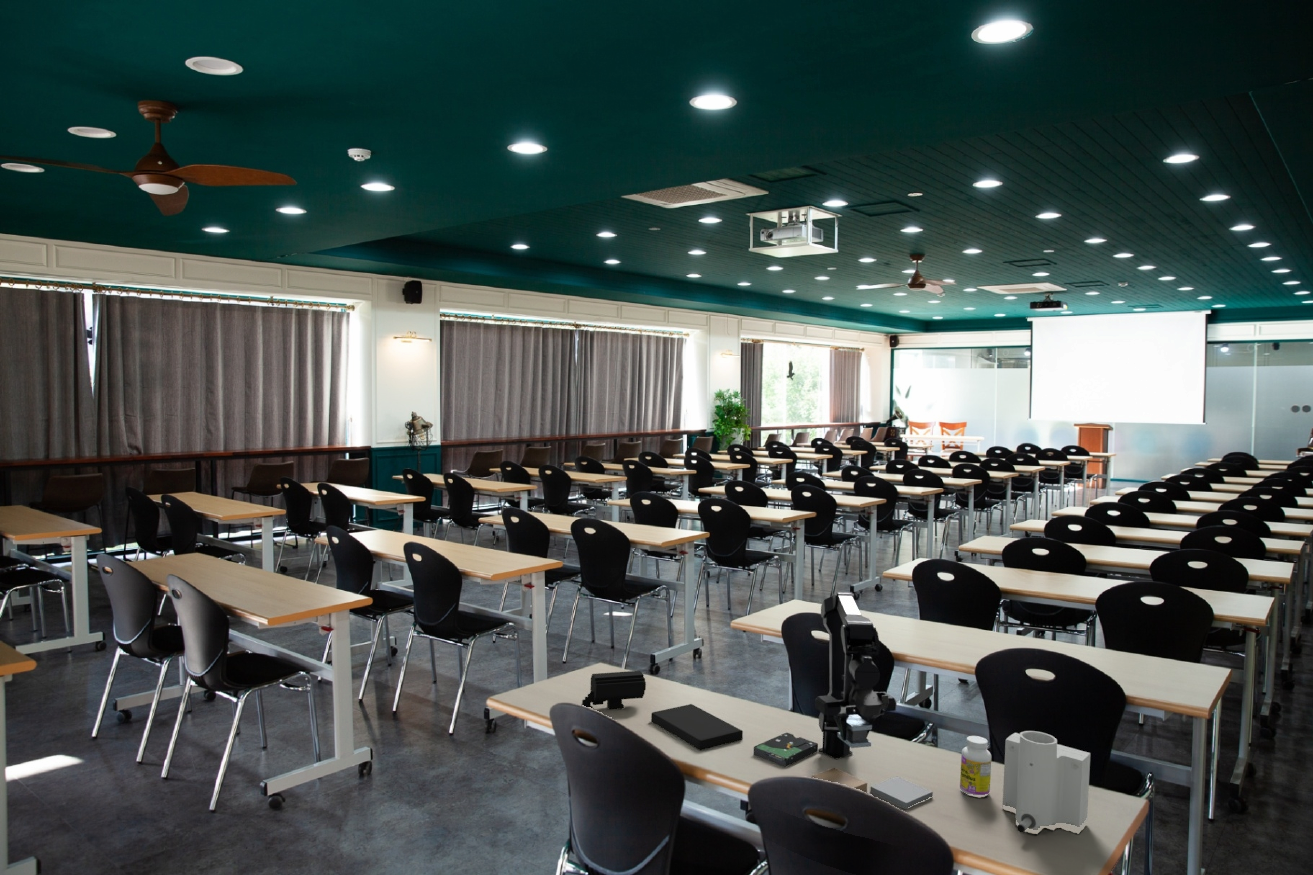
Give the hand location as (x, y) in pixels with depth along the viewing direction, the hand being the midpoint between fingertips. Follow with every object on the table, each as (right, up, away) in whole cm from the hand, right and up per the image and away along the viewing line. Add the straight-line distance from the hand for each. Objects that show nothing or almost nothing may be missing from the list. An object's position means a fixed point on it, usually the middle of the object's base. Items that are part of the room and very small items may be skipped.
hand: (854, 739), depth 201 cm
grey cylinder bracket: (+36, -14, -15) cm, 41 cm away
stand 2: (+11, -12, -2) cm, 16 cm away
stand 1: (-3, -12, +1) cm, 12 cm away
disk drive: (-13, -12, +21) cm, 27 cm away
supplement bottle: (+29, -13, +1) cm, 32 cm away
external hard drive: (-36, -10, +34) cm, 50 cm away
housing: (0, -1, 0) cm, 0 cm away
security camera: (-60, -9, +49) cm, 78 cm away
